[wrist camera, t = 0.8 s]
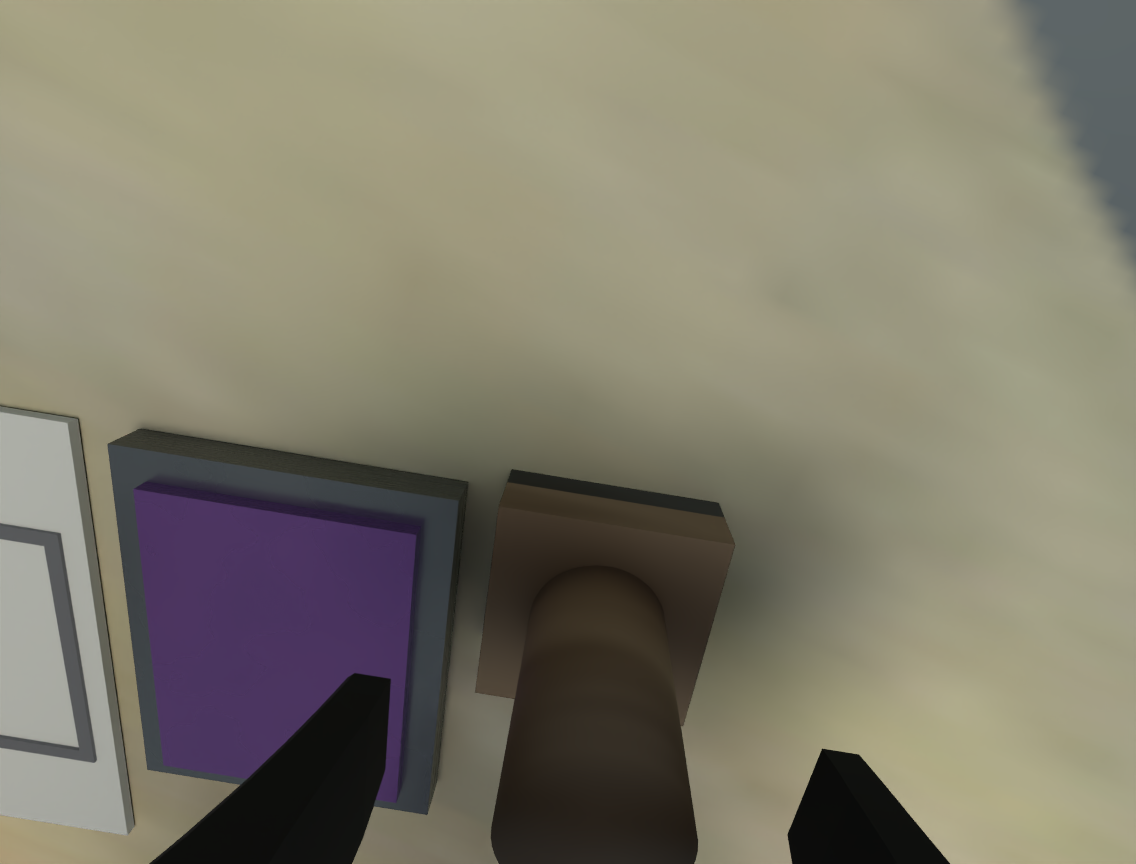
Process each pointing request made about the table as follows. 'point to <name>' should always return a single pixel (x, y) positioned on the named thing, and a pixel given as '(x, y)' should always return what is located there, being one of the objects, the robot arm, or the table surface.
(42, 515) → the form sheet
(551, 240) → the table surface
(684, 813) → the stamp
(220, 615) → the ink pad
